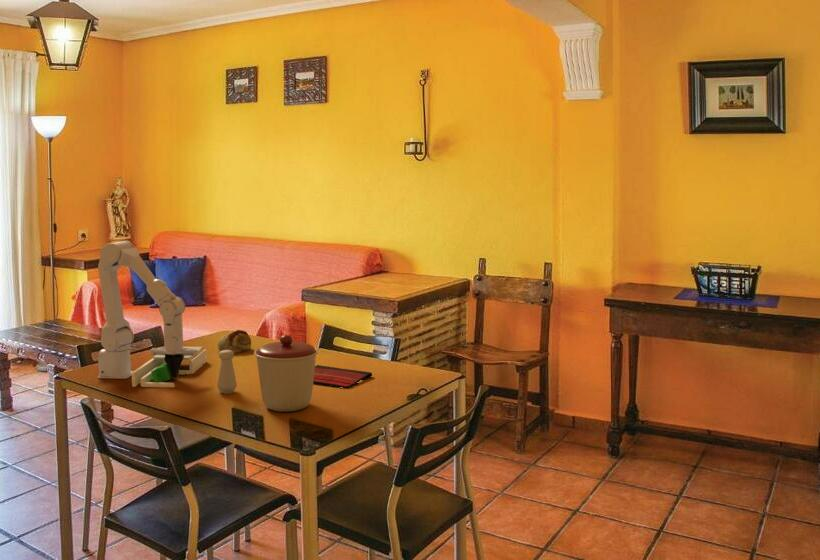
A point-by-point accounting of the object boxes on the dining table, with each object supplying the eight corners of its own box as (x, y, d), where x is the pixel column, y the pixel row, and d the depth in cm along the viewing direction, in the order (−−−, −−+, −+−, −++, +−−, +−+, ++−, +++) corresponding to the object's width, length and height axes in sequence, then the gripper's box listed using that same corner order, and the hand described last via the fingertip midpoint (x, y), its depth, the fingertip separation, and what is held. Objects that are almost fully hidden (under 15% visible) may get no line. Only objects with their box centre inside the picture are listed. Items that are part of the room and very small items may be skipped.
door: (153, 358, 259) (152, 352, 259) (169, 347, 274) (168, 342, 274) (188, 359, 259) (188, 353, 258) (203, 348, 274) (202, 342, 274)
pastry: (241, 355, 285) (240, 334, 284) (210, 353, 289) (209, 331, 288) (258, 346, 299) (258, 326, 298) (229, 344, 302) (228, 324, 301)
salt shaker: (219, 396, 235) (218, 353, 233) (215, 391, 240) (214, 349, 238) (239, 393, 238) (238, 351, 236) (234, 388, 243) (233, 347, 241)
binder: (317, 364, 266) (372, 371, 257) (317, 370, 267) (372, 378, 258) (291, 377, 252) (348, 385, 243) (291, 384, 252) (348, 393, 244)
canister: (242, 412, 220) (241, 338, 217) (276, 394, 237) (274, 326, 234) (299, 420, 214) (298, 344, 211) (329, 401, 231) (329, 331, 228)
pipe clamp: (166, 382, 246) (161, 368, 246) (155, 385, 247) (150, 371, 246) (179, 372, 257) (175, 359, 257) (169, 375, 258) (164, 362, 257)
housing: (132, 386, 244) (131, 372, 244) (167, 361, 275) (166, 348, 275) (176, 387, 244) (176, 373, 243) (206, 362, 275) (206, 349, 274)
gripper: (146, 338, 246) (148, 380, 248) (192, 339, 245) (193, 381, 247) (154, 333, 253) (156, 374, 255) (198, 334, 252) (200, 375, 254)
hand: (175, 377), depth 252 cm, fingers closed
